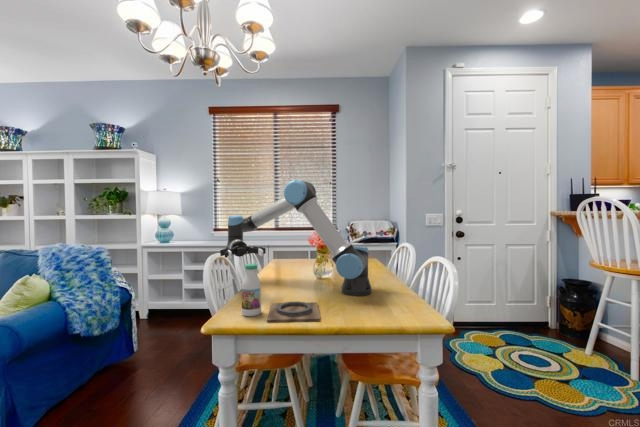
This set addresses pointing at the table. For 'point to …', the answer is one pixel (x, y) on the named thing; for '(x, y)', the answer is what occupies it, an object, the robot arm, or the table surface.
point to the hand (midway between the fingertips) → (246, 254)
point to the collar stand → (293, 312)
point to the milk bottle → (251, 292)
